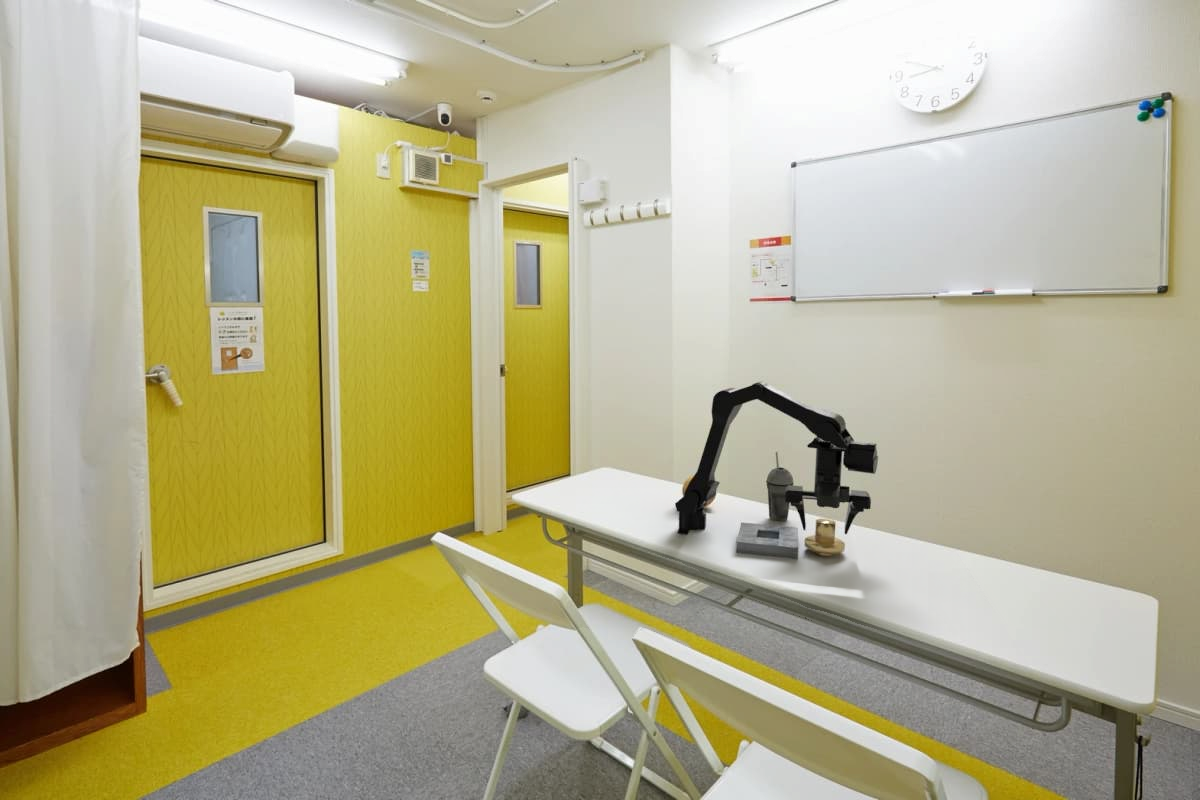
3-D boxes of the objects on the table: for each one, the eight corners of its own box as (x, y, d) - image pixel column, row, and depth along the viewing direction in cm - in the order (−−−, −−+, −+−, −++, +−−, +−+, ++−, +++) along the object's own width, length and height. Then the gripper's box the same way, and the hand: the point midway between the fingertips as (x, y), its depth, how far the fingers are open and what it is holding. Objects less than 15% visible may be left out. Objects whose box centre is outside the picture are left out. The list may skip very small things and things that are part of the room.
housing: (736, 557, 153) (736, 541, 153) (740, 537, 167) (741, 522, 166) (797, 564, 149) (798, 547, 149) (797, 542, 163) (797, 527, 162)
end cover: (804, 562, 150) (806, 526, 149) (803, 548, 159) (805, 514, 157) (845, 567, 148) (847, 530, 146) (842, 552, 156) (844, 517, 155)
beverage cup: (793, 528, 173) (796, 455, 170) (765, 526, 174) (767, 454, 171) (790, 519, 180) (793, 449, 177) (763, 517, 181) (766, 448, 178)
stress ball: (685, 505, 196) (669, 490, 190) (704, 479, 197) (689, 463, 191) (709, 519, 188) (693, 503, 182) (728, 492, 190) (712, 475, 183)
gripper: (786, 473, 145) (783, 539, 147) (875, 479, 140) (871, 548, 142) (786, 461, 155) (784, 523, 158) (869, 467, 150) (865, 531, 153)
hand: (824, 531), depth 152 cm, fingers open, 9 cm apart
